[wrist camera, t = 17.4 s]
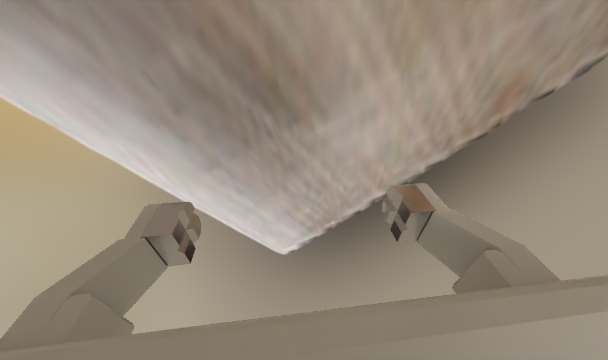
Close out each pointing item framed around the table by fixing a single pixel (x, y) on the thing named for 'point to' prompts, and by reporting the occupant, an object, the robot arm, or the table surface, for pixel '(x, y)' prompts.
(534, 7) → the table surface
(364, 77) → the table surface
